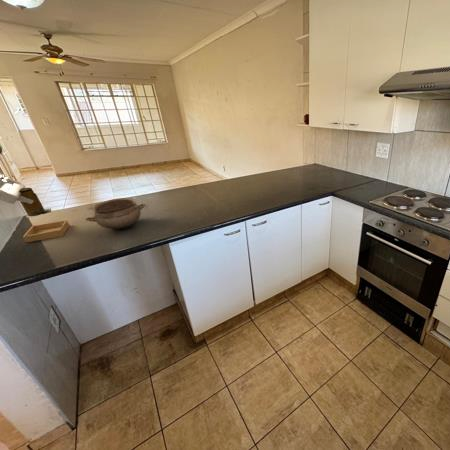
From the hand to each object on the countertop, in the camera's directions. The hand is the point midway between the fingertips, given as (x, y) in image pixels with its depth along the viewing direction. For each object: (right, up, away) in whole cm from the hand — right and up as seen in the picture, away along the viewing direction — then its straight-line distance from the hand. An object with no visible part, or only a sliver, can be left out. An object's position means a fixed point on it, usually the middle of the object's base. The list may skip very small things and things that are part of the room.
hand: (34, 199), depth 113 cm
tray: (+1, -16, +6) cm, 17 cm away
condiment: (0, -6, +3) cm, 7 cm away
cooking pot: (+32, -13, +12) cm, 37 cm away
